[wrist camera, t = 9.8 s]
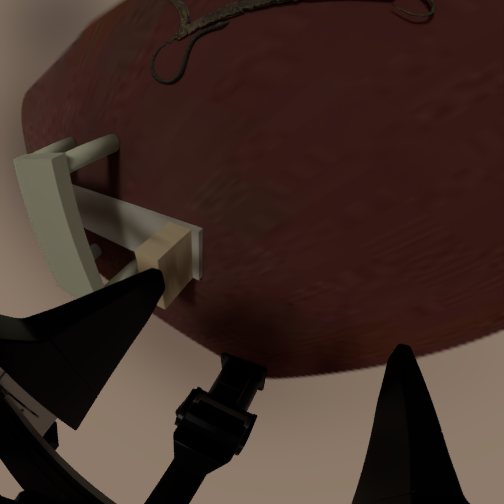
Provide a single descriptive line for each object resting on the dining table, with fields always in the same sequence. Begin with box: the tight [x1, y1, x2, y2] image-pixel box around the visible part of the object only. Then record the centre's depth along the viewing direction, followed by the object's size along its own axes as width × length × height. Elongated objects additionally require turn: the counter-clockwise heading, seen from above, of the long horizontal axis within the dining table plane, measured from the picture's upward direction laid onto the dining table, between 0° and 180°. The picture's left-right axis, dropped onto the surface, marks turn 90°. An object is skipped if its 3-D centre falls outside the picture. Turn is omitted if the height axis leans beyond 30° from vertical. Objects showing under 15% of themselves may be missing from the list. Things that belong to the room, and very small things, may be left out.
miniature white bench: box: [13, 133, 139, 299], centre depth 26 cm, size 18×11×8 cm, turn 179°
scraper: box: [72, 184, 203, 309], centre depth 27 cm, size 6×21×6 cm, turn 83°
